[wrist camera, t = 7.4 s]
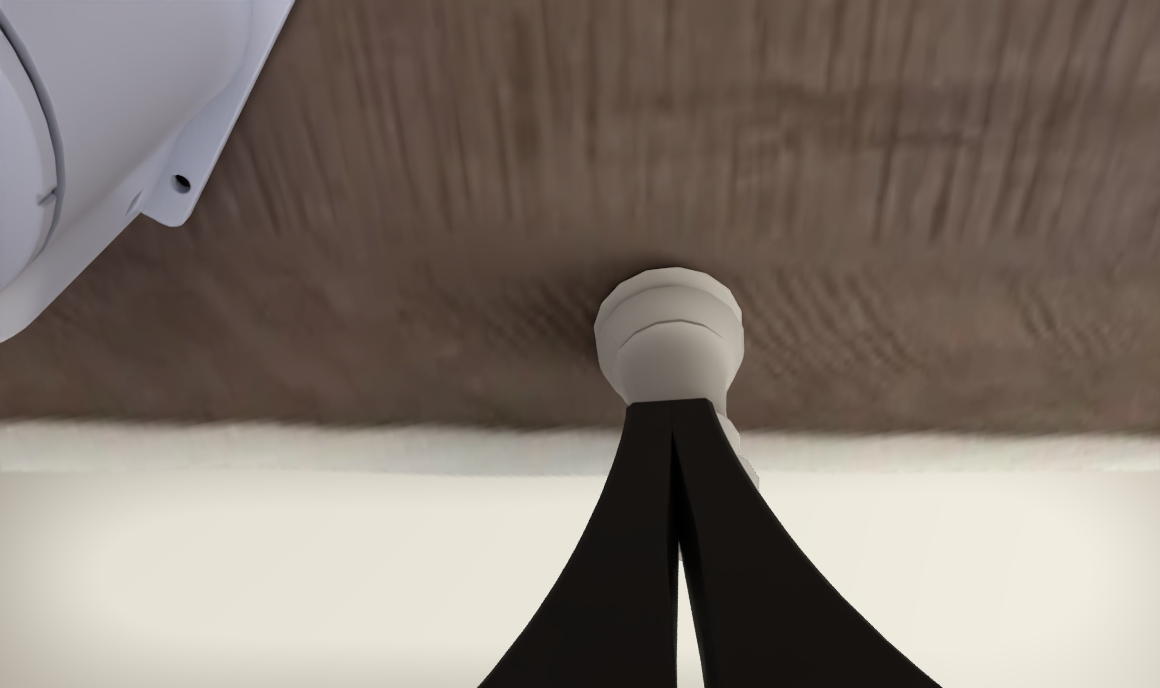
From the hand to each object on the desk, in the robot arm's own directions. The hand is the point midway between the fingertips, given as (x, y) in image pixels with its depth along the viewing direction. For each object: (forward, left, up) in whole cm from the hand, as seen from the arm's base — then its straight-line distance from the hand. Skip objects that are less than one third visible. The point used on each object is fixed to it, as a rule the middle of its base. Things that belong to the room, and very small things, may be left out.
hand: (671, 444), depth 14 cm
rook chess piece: (-3, -3, -10) cm, 11 cm away
